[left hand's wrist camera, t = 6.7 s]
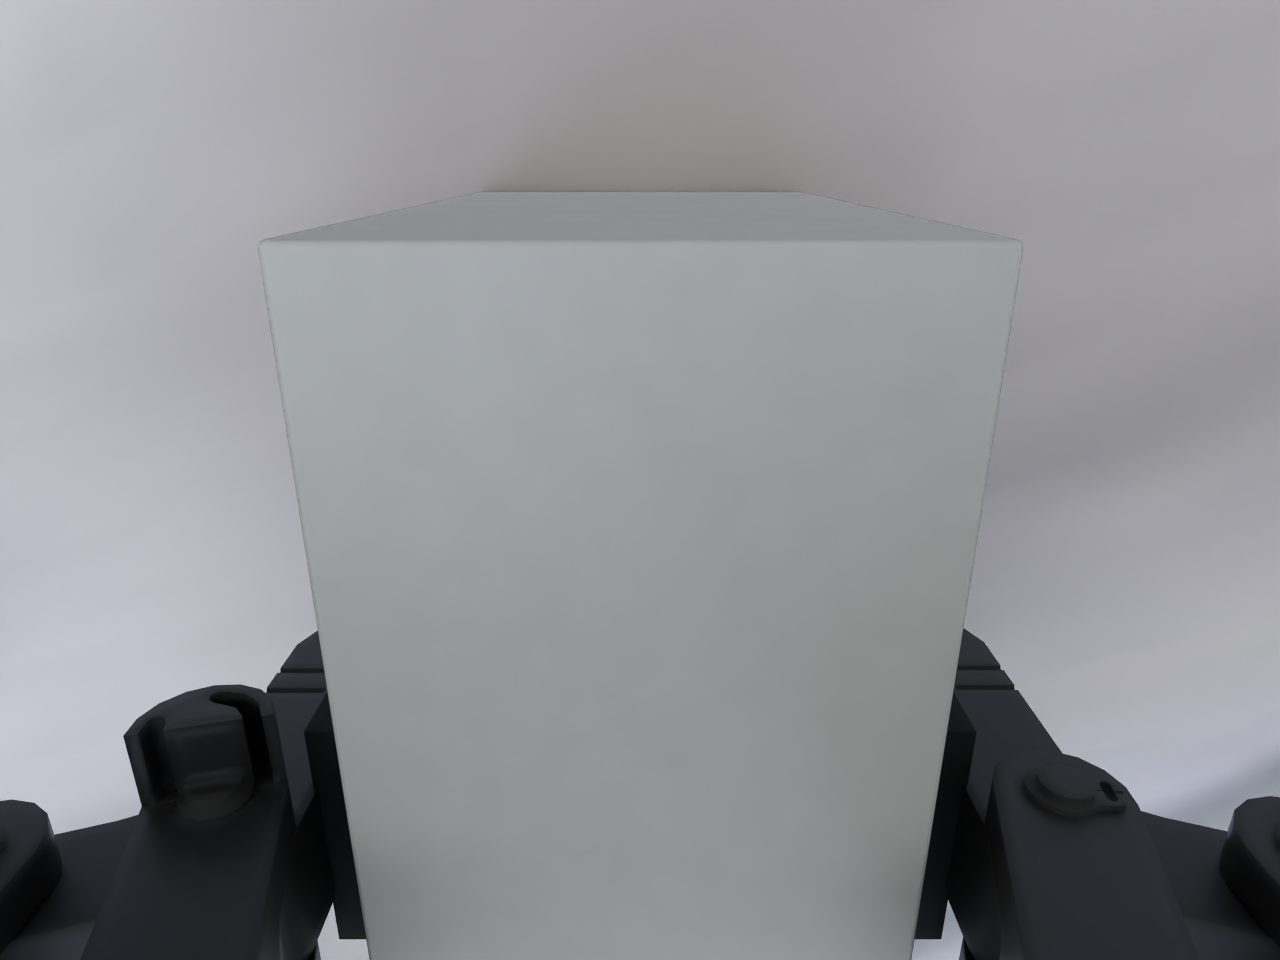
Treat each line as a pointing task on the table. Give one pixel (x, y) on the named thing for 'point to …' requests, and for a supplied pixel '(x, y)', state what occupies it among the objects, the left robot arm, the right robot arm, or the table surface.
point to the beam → (640, 560)
